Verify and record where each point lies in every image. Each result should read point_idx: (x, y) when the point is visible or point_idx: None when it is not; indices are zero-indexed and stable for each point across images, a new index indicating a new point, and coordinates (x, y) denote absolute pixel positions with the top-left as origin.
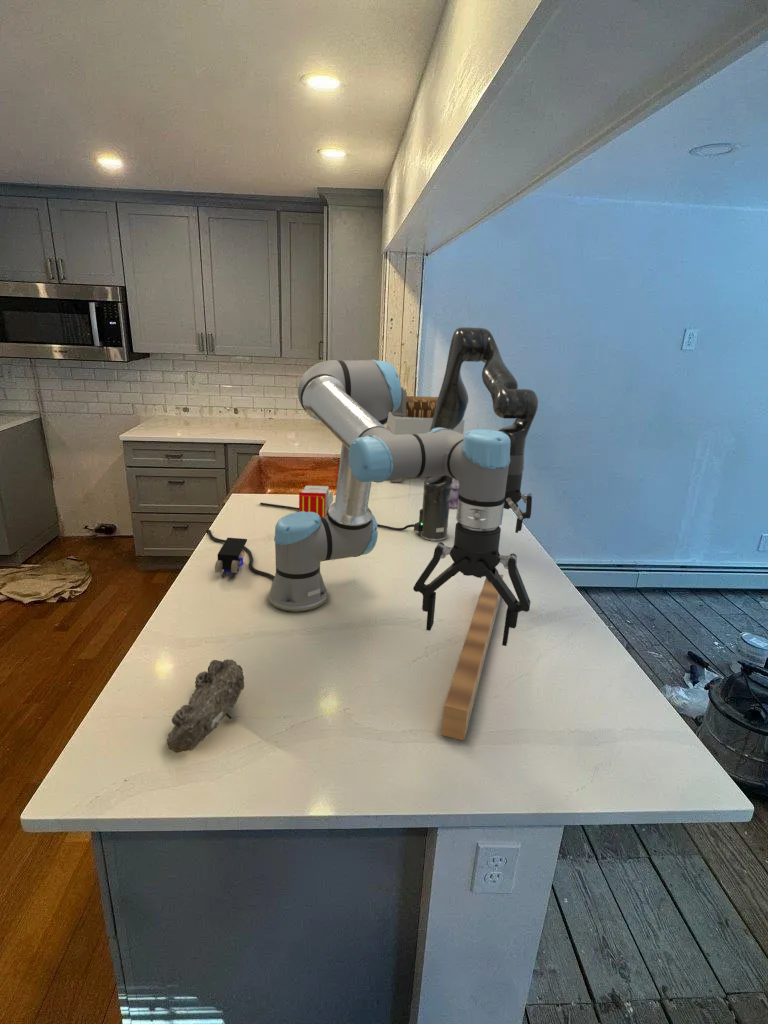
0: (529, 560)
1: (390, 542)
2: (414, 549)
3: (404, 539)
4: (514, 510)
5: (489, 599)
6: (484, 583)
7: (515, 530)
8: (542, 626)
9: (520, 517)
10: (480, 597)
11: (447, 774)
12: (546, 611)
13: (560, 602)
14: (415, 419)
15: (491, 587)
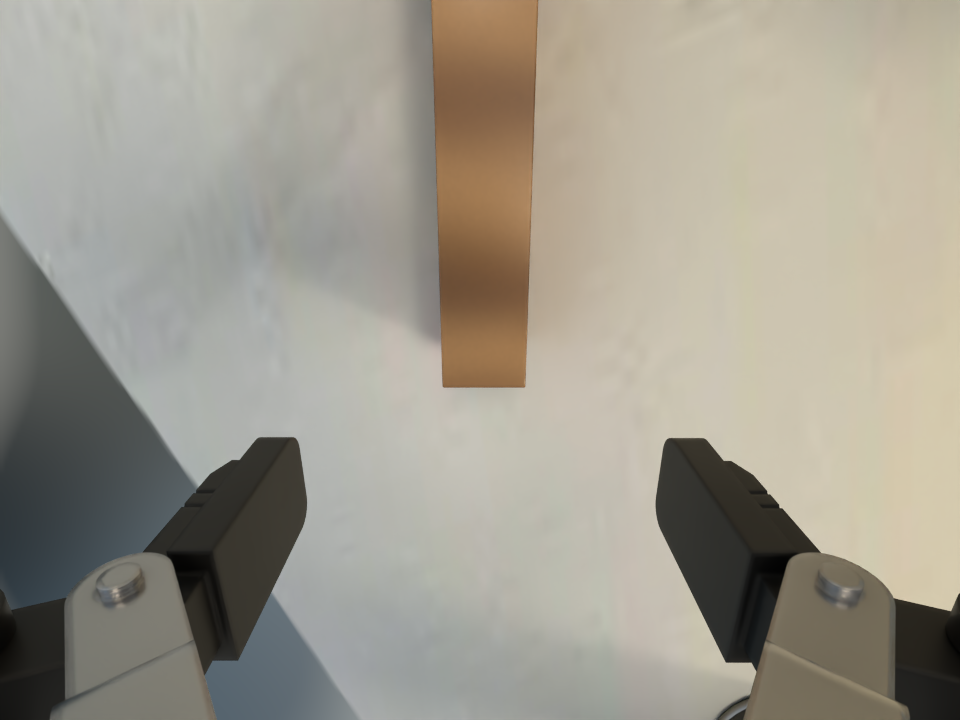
0: (385, 665)
1: None
2: None
3: None
4: (159, 692)
5: (475, 44)
6: (527, 250)
7: (284, 447)
8: (231, 141)
9: (112, 578)
10: (530, 49)
11: None
12: (244, 288)
13: (208, 387)
14: None
15: (483, 215)
